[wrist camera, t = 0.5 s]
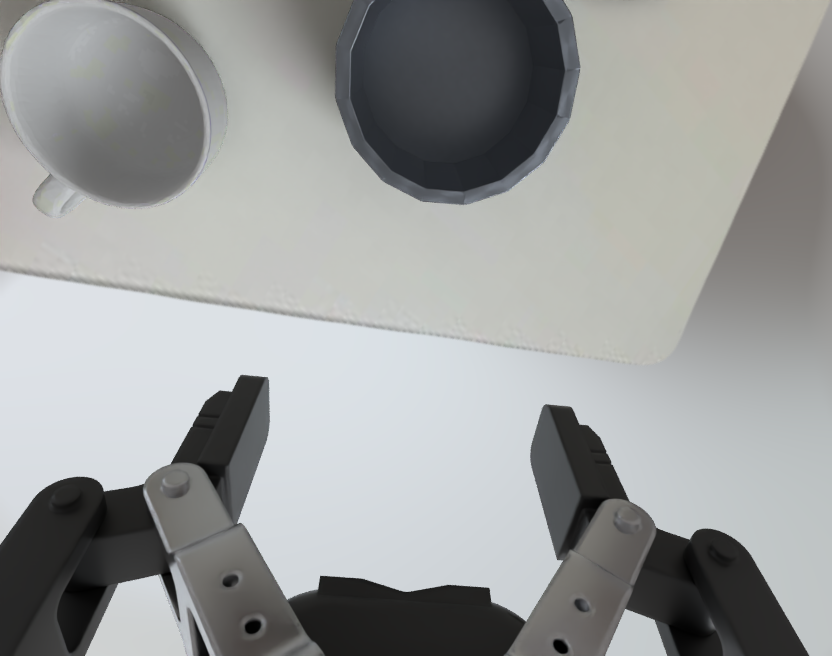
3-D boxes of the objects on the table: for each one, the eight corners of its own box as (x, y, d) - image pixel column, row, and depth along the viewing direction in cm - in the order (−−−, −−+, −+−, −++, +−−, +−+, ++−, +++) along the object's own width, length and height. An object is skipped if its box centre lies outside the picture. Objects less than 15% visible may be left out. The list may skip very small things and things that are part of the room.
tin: (354, -50, 32) (337, -78, 25) (560, -29, 33) (605, -50, 25) (349, 164, 38) (334, 194, 30) (524, 179, 38) (551, 212, 31)
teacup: (162, -35, 32) (92, -57, 25) (279, 123, 37) (247, 143, 30) (14, 102, 36) (-83, 117, 29) (137, 232, 40) (78, 272, 33)
